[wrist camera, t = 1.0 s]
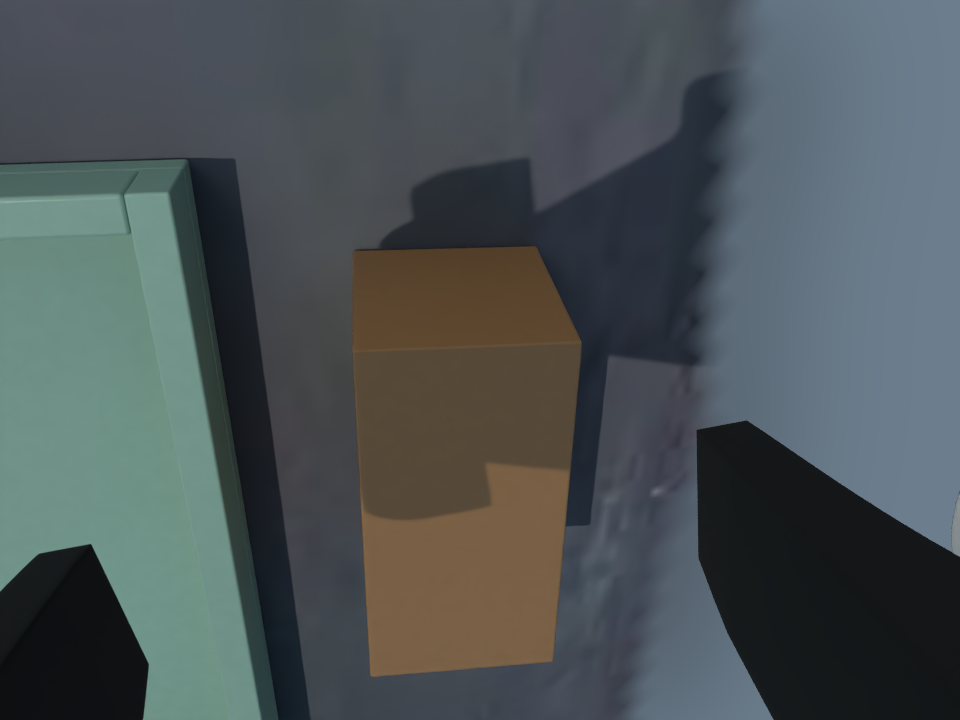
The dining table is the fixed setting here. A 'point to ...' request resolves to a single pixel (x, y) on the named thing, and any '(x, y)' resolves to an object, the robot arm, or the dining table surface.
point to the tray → (128, 422)
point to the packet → (462, 454)
